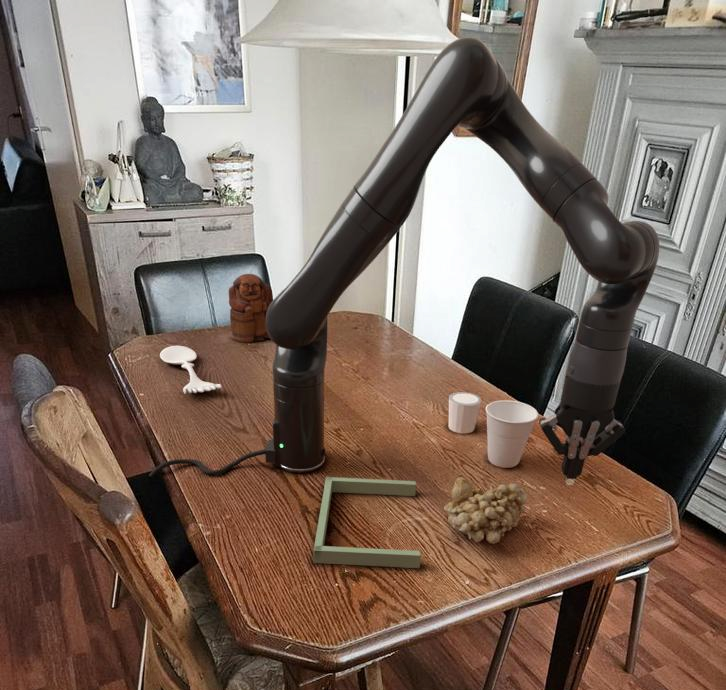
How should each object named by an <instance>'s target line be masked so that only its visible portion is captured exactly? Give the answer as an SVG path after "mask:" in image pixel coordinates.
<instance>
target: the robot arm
mask: <svg viewBox="0 0 726 690" xmlns="http://www.w3.org/2000/svg"><path fill="white" fill-rule="evenodd" d="M457 127H460V128H462V129H464V130H466V131H468V132H469V133H471V134H472V135H473V136H475V137H476V138H478V139H479V140H480V141H482V142H483V143H485V144H486V145H487V146H488V147H489V148H490V149H492V150H493V151H494V152H495V153H496V154H497V155H498V156H499V157H500V158H501V159H502V160H503V162H505V163H506V164H507V166H508V167H509V169H510V170H511V171H512V172H513V174H514V175H515V176H516V178H517V179H518V181H519V182H520V184H521V185H522V186H523V188H524V189H525V190H526V192H527V193H528V195H529V196H530V197H531V198H532V200H533V201H534V202H535V203H536V204H537V205H538V206H539V208H540V209H541V210H542V212H544V213H545V214H546V216H548V217H549V219H550V220H551V221H552V222H553V223H554V224H555V225H556V226H557V227H558V228H559V229H560V230H561V231H562V233H563V236H564V237H565V240H566V242H567V244H568V246H569V247H570V250H571V251H572V252H573V254H574V256H575V258H576V260H577V261H578V263H579V264H580V266H581V267H582V268H583V270H584V271H585V272H586V273H587V274H588V275H589V276H591V277H592V278H593V279H595V280H596V281H597V285H596V288H595V290H594V292H593V293H592V295H591V296H590V297H589V298H588V299H587V300H586V301H585V302H584V304H583V306H582V309H581V312H580V315H579V321H578V324H577V329H576V334H575V339H574V342H573V345H572V347H571V350H570V353H569V358H568V363H567V367H566V373H565V377H564V378H565V379H564V381H563V382H564V383H563V386H562V390H561V396H560V402H559V404H558V406H557V407H556V408H555V410H554V414H552V415H551V416H549V417H546V418H545V417H541V418H539V420H538V424H539V427H540V429H541V431H542V433H543V434H544V436H545V437H546V438H547V440H548V441H549V443H550V445H551V446H552V448H553V449H554V450H555V452H556V454H557V455H559V456H563V458H562V462H561V467H560V469H561V472H562V474H563V476H565V479H566V480H567V479H568V480H577V479H578V477H580V476H581V474H582V472H583V468H584V465H585V461H586V459H587V458H588V457H590V456H593V457H598V456H599V455H600V454H601V453H603V452H604V451H605V450H606V449H607V448H609V447H610V446H611V445H613V444H614V443H615V442H616V441H617V440H618V439H620V438H621V437H622V436H623V435H624V434H625V433H626V428H625V427H624V426H623V423H621V421H620V420H616V419H615V413H614V407H615V405H616V401H617V396H618V394H619V390H620V386H621V383H622V382H621V381H622V378H623V376H624V374H625V366H626V362H627V354H628V347H629V343H630V339H631V335H632V331H633V328H634V324H635V319H636V315H637V311H638V309H639V307H640V306H641V303H642V301H643V299H644V297H645V294H646V292H647V291H648V287H649V285H650V283H651V281H652V279H653V276H654V273H655V270H656V268H657V265H658V261H659V257H660V247H661V246H660V239H659V234H658V233H657V231H656V229H655V228H654V227H653V226H652V225H651V224H649V223H647V222H645V221H641V220H630V221H625V222H622V221H620V220H619V219H618V218H617V216H616V215H615V214H614V213H613V211H612V210H611V209H610V207H609V206H608V203H609V193H608V191H607V189H606V188H605V187H604V185H603V184H602V183H601V182H600V180H599V179H598V178H597V177H596V176H595V175H594V174H593V173H592V172H591V171H590V170H589V169H588V168H587V167H586V165H584V164H583V162H582V161H580V160H579V159H578V157H577V156H575V154H573V152H572V151H570V150H569V149H568V148H567V147H566V146H565V145H564V144H562V143H561V142H560V141H559V140H558V139H557V138H555V137H554V136H553V134H551V133H549V132H548V131H547V130H546V129H545V128H544V126H542V125H541V123H539V122H538V121H537V119H536V117H534V116H533V115H532V114H531V112H530V111H529V109H528V108H527V107H526V105H525V104H524V102H523V101H522V99H521V98H520V96H519V95H518V93H517V91H516V89H515V87H514V86H513V84H512V83H511V81H510V79H509V78H508V76H507V73H506V70H505V68H504V67H503V65H502V63H501V62H500V61H499V60H498V58H497V57H496V56H495V54H493V52H492V51H491V50H490V49H489V47H488V46H487V45H486V44H485V43H484V42H483V41H482V40H481V39H479V38H476V37H474V36H464V37H460V38H457V39H456V40H454V41H452V42H450V43H449V44H448V45H447V46H445V47H444V48H443V49H442V50H441V52H440V53H439V54H438V55H437V56H436V58H435V59H434V60H433V62H432V63H431V65H430V67H429V68H428V69H427V71H426V73H425V75H424V77H423V78H422V80H421V82H420V83H419V85H418V87H417V89H416V90H415V93H414V94H413V96H412V98H411V100H410V101H409V103H408V105H407V106H406V108H405V110H404V112H403V113H402V115H401V117H400V119H399V120H398V122H397V124H396V125H395V127H394V128H393V130H392V131H391V132H390V134H389V135H388V137H386V140H385V141H384V143H383V144H382V145H381V146H380V149H379V150H378V151H377V153H376V154H375V156H373V159H372V160H371V162H370V163H369V164H368V166H367V168H366V169H365V170H364V172H363V173H362V174H361V175H360V177H359V178H358V179H357V180H356V182H355V183H354V185H353V186H352V187H351V189H350V190H349V191H348V194H347V195H346V196H345V197H344V199H343V200H342V202H341V203H340V204H339V206H338V208H337V210H336V211H335V213H334V214H333V216H332V218H331V219H330V221H329V223H328V224H327V226H326V227H325V228H324V231H323V233H322V234H321V236H320V238H319V240H318V241H317V243H316V245H315V247H314V249H313V251H312V252H311V254H310V256H309V258H308V259H307V261H306V263H305V264H304V265H303V266H302V267H301V269H300V271H299V272H298V273H297V274H296V275H295V276H294V278H293V279H292V280H291V281H290V282H289V284H287V285H286V287H285V288H284V289H283V290H281V291H280V293H278V294H277V296H275V298H273V301H272V302H271V304H270V305H269V307H268V310H267V313H266V329H267V333H268V335H269V337H270V338H271V339H270V340H271V342H272V343H273V344H275V354H274V358H273V362H272V388H273V409H274V418H273V419H272V420H273V421H272V439H268V441H267V444H266V446H265V448H264V449H261V450H256V451H253V452H249V453H246V454H244V455H242V456H240V457H238V458H237V459H236V460H234V461H232V462H230V463H228V464H227V465H225V466H223V467H222V468H219V469H216V470H215V469H214V470H211V469H209V468H207V467H206V466H205V465H204V464H203V463H202V462H201V461H199V460H197V459H187V458H181V459H180V458H179V459H172V460H168V461H165V462H163V463H160V464H159V465H157V466H156V467H154V469H152V471H151V472H150V473H149V475H148V476H149V477H155V476H156V475H157V474H158V473H159V472H160V471H162V470H163V469H165V468H167V467H170V466H173V465H183V464H184V465H185V464H188V465H195V466H197V467H198V468H199V469H200V470H201V471H202V472H203V473H204V474H206V475H211V476H215V475H216V476H217V475H221V474H225V473H226V472H227V471H229V470H231V469H232V468H235V467H236V466H237V465H239V464H241V463H242V462H244V461H246V460H248V459H252V458H254V457H258V456H262V455H264V456H265V463H266V464H267V463H269V464H274V468H275V469H276V468H277V469H281V470H284V471H286V472H288V473H289V472H290V473H295V474H304V473H305V474H306V473H311V472H314V471H316V470H318V469H320V468H321V467H323V466H324V464H325V461H326V455H325V453H326V447H325V368H326V362H327V355H328V316H329V314H330V312H331V311H332V309H333V308H334V307H335V305H336V303H337V302H338V300H339V299H340V298H341V296H342V295H343V293H345V291H346V290H347V289H348V288H349V287H350V285H352V284H353V283H354V282H355V281H356V280H357V279H358V278H359V277H360V276H361V275H362V274H363V272H365V270H367V268H368V267H369V266H370V265H371V264H372V263H373V262H374V261H375V260H376V258H378V256H379V255H380V254H381V253H382V252H383V251H384V249H386V247H387V246H388V244H390V242H391V241H392V240H393V238H394V237H395V236H396V235H397V233H398V232H399V231H400V229H401V228H402V226H403V225H404V224H405V222H406V220H408V218H409V216H410V215H411V212H412V211H413V208H414V206H415V203H416V201H417V198H418V196H419V192H420V190H421V187H422V183H423V180H424V178H425V175H426V172H427V170H428V169H429V166H430V163H431V162H432V160H433V158H434V156H435V155H436V154H437V152H438V150H439V149H440V148H441V147H442V145H443V144H444V142H445V141H446V140H447V139H448V137H449V136H450V135H451V134H452V132H453V131H454V130H455V129H457ZM557 424H559V426H560V427H561V429H562V430H563V433H564V442H562V441H561V440H560V438H559V437H558V435H557V433H556V432H557V430H558V426H557Z"/></svg>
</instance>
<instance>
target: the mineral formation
mask: <svg viewBox="0 0 726 690" xmlns="http://www.w3.org/2000/svg"><path fill="white" fill-rule="evenodd" d="M453 485H454V486H453V487H452V490H451V498H452V501H450V502H448V503H446V505H445V506H444V507H443V510H444V511H445V512H446V513H447V521H448V523H449V525H451V526H452V528H453V529H455V530H458V531H460V532H461V533H462V534H463V535H468V538H469V540H473V541H474V542H475V543H479V542H481V541H482V540H483V539H484V538H485V540H486V542H488V543H489V544H491V545H494V544H497V543H499V542H500V540H501V538H504V536H505V533H506V532H510V531H511V530H512V529H513V528H515V527H516V528H517V526H518V525H519V522H520V519H521V517H520V516H519V515H522V514H524V513H525V512H526V506H524V505H525V504H526V503H527V500H528V499H527V495H526V493H525V490H524V489H523V488H520V487H519V485H518V484H516V483H514V482H513V483H510V484H508V485H506V484H499V485H498V487H497V488H493V489H487V490H486V491H483V489H482V488H476V489H473V487H472V486H471V485H470V481H469V480H467V479H465V478H464V477H462V476H459V477H458V478H457V479H456V480H455V482H453Z"/></svg>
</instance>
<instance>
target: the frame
mask: <svg viewBox="0 0 726 690" xmlns="http://www.w3.org/2000/svg"><path fill="white" fill-rule="evenodd" d="M416 492H417V481H416V480H399V479H397V480H396V479H376V478H357V477H333V476H326V477H325V480H324V487H323V493H322V498H321V503H320V511H319V515H318V521H317V528H316V533H315V539H314V546H313V564H327V565H329V564H330V565H348V566H363V567H367V566H368V567H385V568H386V567H387V568H406V569H407V568H408V569H420V566H421V556H422V555H421V554H422V553H421V550H411V549H410V550H409V549H391V548H389V549H388V548H373V547H372V548H371V547H370V548H369V547H351V546H350V547H349V546H334V545H333V546H329V545H325V542H326V535H327V528H328V522H329V516H330V509H331V501H332V497H333V495H332V494H333V493H343V494H362V495H363V494H364V495H380V496H381V495H382V496H384V495H385V496H403V497H416Z"/></svg>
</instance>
